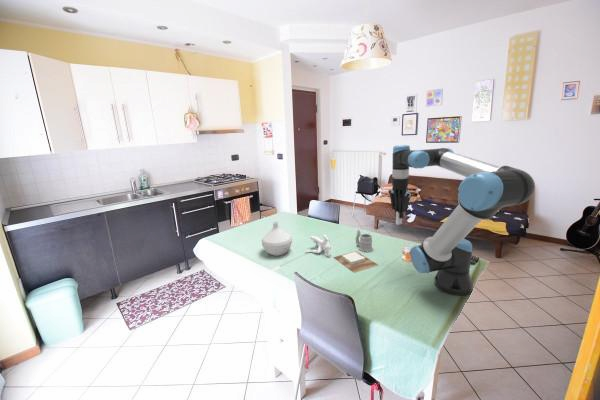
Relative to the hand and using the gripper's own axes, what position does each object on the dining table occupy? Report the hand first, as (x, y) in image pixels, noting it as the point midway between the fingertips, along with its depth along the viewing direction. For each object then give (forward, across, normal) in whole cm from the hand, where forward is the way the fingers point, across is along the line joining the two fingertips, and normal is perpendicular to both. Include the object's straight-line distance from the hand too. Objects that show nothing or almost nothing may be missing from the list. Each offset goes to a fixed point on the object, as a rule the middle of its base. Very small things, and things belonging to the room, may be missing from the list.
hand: (398, 223), depth 140 cm
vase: (+23, +53, +45) cm, 73 cm away
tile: (+22, +13, +16) cm, 29 cm away
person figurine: (+24, +37, +23) cm, 50 cm away
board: (+24, +16, +15) cm, 32 cm away
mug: (+24, +26, +1) cm, 35 cm away
